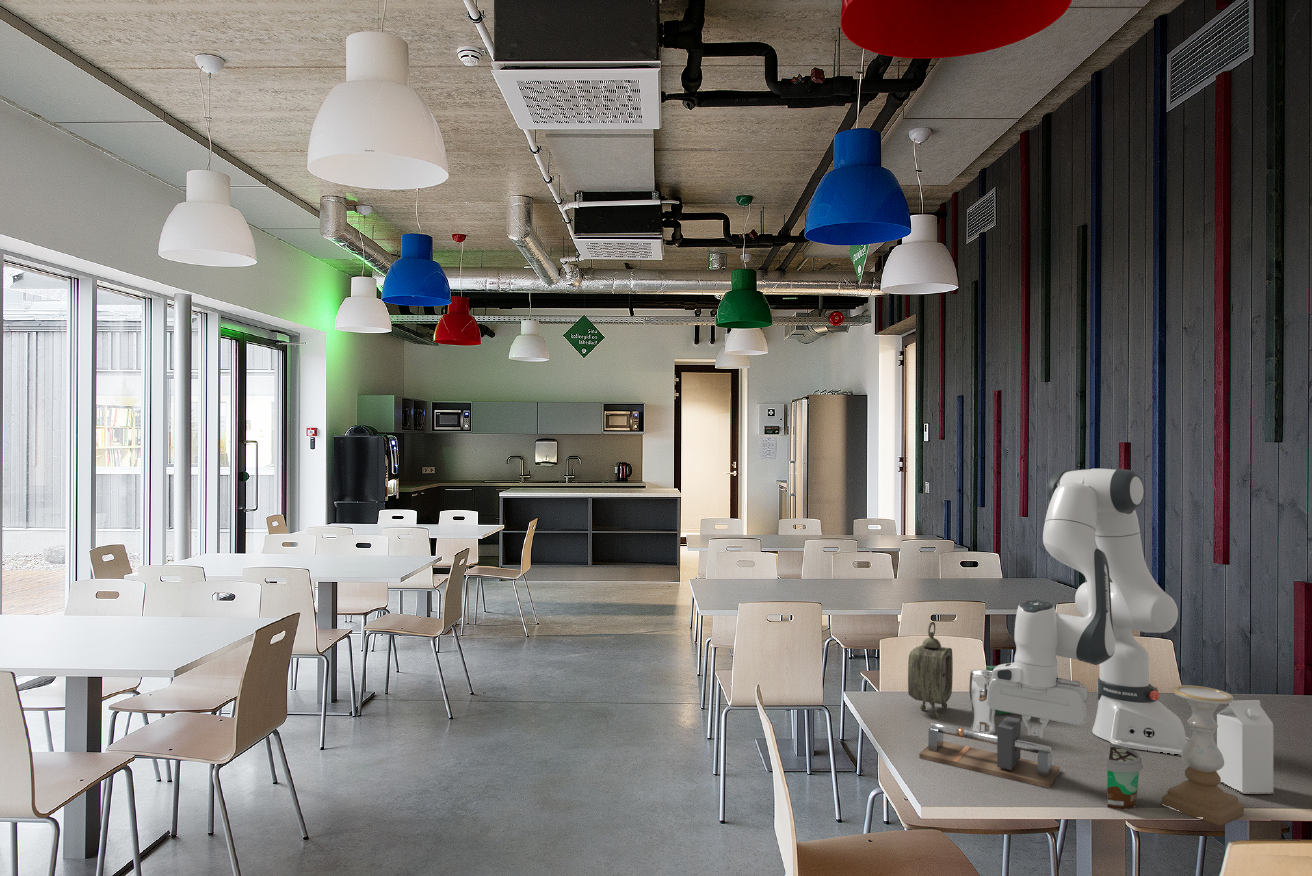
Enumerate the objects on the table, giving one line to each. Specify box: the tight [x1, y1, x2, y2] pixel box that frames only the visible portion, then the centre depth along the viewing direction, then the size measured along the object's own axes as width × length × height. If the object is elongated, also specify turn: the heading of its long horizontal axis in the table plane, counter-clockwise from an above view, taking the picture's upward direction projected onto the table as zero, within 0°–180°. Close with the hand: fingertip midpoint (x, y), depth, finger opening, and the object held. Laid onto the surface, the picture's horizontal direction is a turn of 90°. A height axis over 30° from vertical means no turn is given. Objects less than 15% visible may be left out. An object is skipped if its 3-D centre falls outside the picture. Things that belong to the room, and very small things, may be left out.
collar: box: [996, 716, 1022, 770], centre depth 183 cm, size 3×9×9 cm, turn 144°
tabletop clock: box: [907, 621, 954, 719], centre depth 225 cm, size 14×9×25 cm, turn 148°
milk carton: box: [1216, 699, 1274, 793], centre depth 175 cm, size 7×7×19 cm
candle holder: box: [1161, 684, 1245, 827], centre depth 163 cm, size 11×11×24 cm
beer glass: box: [968, 668, 997, 735], centre depth 209 cm, size 7×7×15 cm
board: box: [918, 740, 1061, 789], centre depth 186 cm, size 28×12×1 cm, turn 54°
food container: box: [1106, 742, 1144, 810], centre depth 166 cm, size 12×6×10 cm, turn 148°
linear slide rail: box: [927, 721, 1053, 777], centre depth 186 cm, size 26×5×6 cm, turn 54°
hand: (1035, 736), depth 180 cm, fingers closed
